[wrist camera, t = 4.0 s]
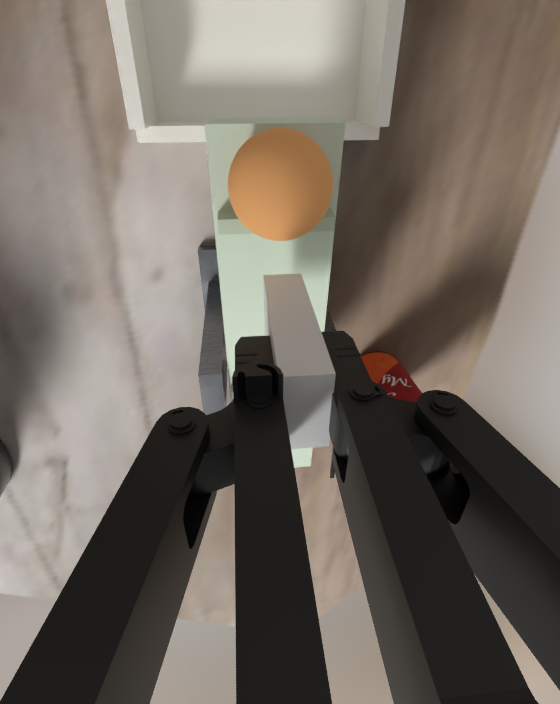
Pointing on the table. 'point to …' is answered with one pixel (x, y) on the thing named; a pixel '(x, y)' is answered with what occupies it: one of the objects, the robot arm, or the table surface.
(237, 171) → the ball
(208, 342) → the stand
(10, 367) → the table surface
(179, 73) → the white square tray
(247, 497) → the robot arm
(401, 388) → the paper cup
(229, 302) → the lever
